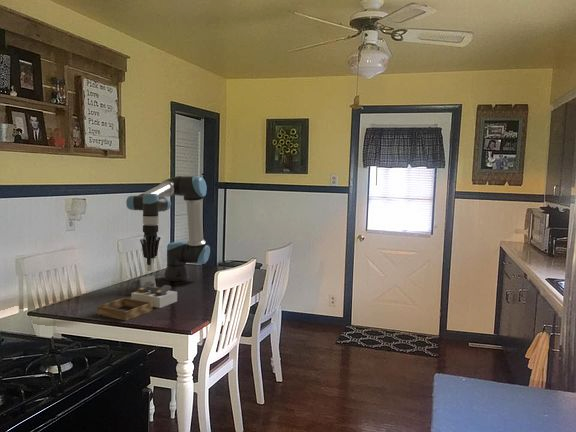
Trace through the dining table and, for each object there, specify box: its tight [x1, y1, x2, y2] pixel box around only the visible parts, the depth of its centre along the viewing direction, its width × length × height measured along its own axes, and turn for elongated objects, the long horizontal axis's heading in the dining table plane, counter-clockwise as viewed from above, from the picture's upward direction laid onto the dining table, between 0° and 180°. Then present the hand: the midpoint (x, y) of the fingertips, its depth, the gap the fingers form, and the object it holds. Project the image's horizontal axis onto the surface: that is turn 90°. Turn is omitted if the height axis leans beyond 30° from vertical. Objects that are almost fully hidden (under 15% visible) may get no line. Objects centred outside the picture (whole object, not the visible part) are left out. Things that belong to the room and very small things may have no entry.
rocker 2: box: [146, 286, 161, 291], centre depth 248 cm, size 8×4×2 cm, turn 156°
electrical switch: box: [137, 275, 157, 289], centre depth 267 cm, size 9×5×9 cm, turn 141°
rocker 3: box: [155, 284, 172, 296], centre depth 245 cm, size 8×4×2 cm, turn 156°
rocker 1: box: [137, 283, 154, 293], centre depth 250 cm, size 8×4×2 cm, turn 156°
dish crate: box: [96, 297, 154, 321], centre depth 229 cm, size 18×18×4 cm
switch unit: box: [130, 290, 178, 309], centre depth 248 cm, size 14×18×6 cm
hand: (150, 270), depth 244 cm, fingers closed
